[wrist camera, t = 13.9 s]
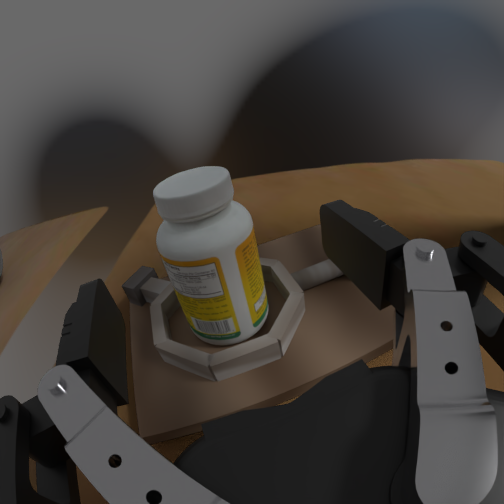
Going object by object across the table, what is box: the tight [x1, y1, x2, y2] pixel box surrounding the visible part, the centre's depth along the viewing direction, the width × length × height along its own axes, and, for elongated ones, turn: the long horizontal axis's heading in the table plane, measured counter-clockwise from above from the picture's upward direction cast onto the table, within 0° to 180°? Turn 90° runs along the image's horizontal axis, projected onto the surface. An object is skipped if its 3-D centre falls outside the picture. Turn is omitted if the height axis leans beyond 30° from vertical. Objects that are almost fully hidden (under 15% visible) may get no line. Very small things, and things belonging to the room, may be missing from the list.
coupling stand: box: [122, 224, 395, 444], centre depth 20 cm, size 18×14×3 cm
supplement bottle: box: [153, 166, 268, 345], centre depth 18 cm, size 5×5×10 cm
